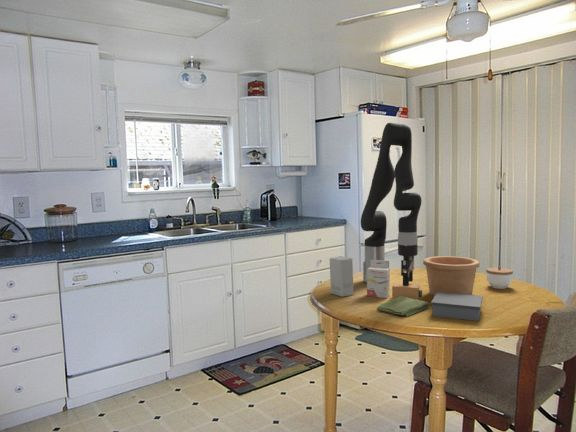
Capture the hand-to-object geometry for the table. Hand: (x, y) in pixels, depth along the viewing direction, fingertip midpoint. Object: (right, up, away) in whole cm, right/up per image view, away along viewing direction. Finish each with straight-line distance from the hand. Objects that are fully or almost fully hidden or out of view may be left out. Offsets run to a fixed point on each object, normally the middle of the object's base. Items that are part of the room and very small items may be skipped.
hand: (407, 283), depth 182 cm
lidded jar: (+45, -5, +19) cm, 49 cm away
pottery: (+20, -6, +8) cm, 22 cm away
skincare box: (-25, -6, +12) cm, 28 cm away
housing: (-1, -7, +1) cm, 7 cm away
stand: (+13, -8, -17) cm, 23 cm away
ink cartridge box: (-10, -7, +8) cm, 14 cm away
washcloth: (-5, -9, -12) cm, 15 cm away
